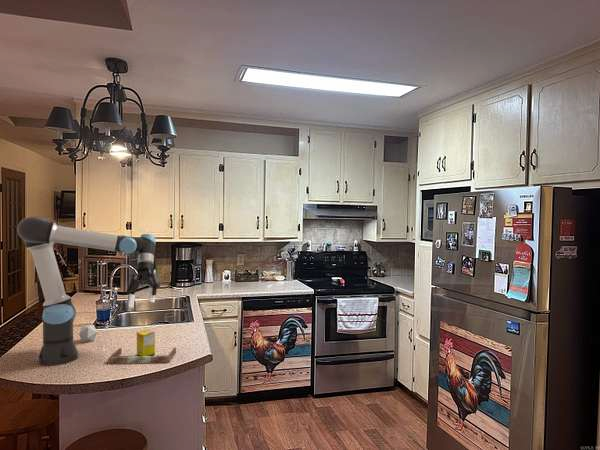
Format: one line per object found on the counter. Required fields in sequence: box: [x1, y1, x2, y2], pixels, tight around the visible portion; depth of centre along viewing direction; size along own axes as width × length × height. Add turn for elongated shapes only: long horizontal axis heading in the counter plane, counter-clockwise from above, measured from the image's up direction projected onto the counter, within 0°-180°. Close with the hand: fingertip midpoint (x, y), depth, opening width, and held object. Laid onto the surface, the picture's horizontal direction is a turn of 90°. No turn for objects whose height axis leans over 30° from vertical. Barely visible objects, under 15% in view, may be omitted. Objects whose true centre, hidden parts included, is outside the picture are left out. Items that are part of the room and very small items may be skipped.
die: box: [78, 324, 98, 343], centre depth 209 cm, size 8×9×10 cm
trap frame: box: [107, 347, 177, 364], centre depth 185 cm, size 26×12×2 cm, turn 94°
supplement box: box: [136, 329, 156, 357], centre depth 188 cm, size 6×6×11 cm
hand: (141, 305), depth 196 cm, fingers open, 13 cm apart
